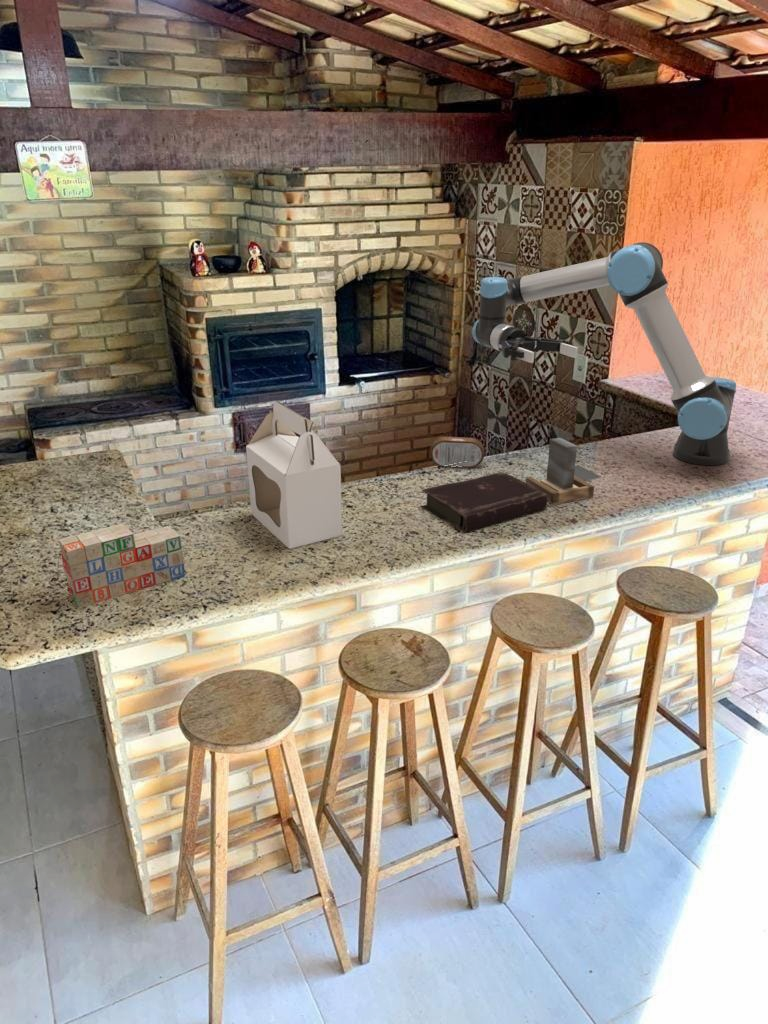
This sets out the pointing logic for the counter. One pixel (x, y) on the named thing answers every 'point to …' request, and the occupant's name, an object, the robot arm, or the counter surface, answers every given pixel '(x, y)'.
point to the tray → (564, 491)
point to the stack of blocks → (119, 561)
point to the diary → (484, 500)
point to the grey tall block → (561, 465)
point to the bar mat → (584, 473)
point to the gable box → (293, 480)
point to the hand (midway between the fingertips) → (554, 355)
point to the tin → (457, 451)
